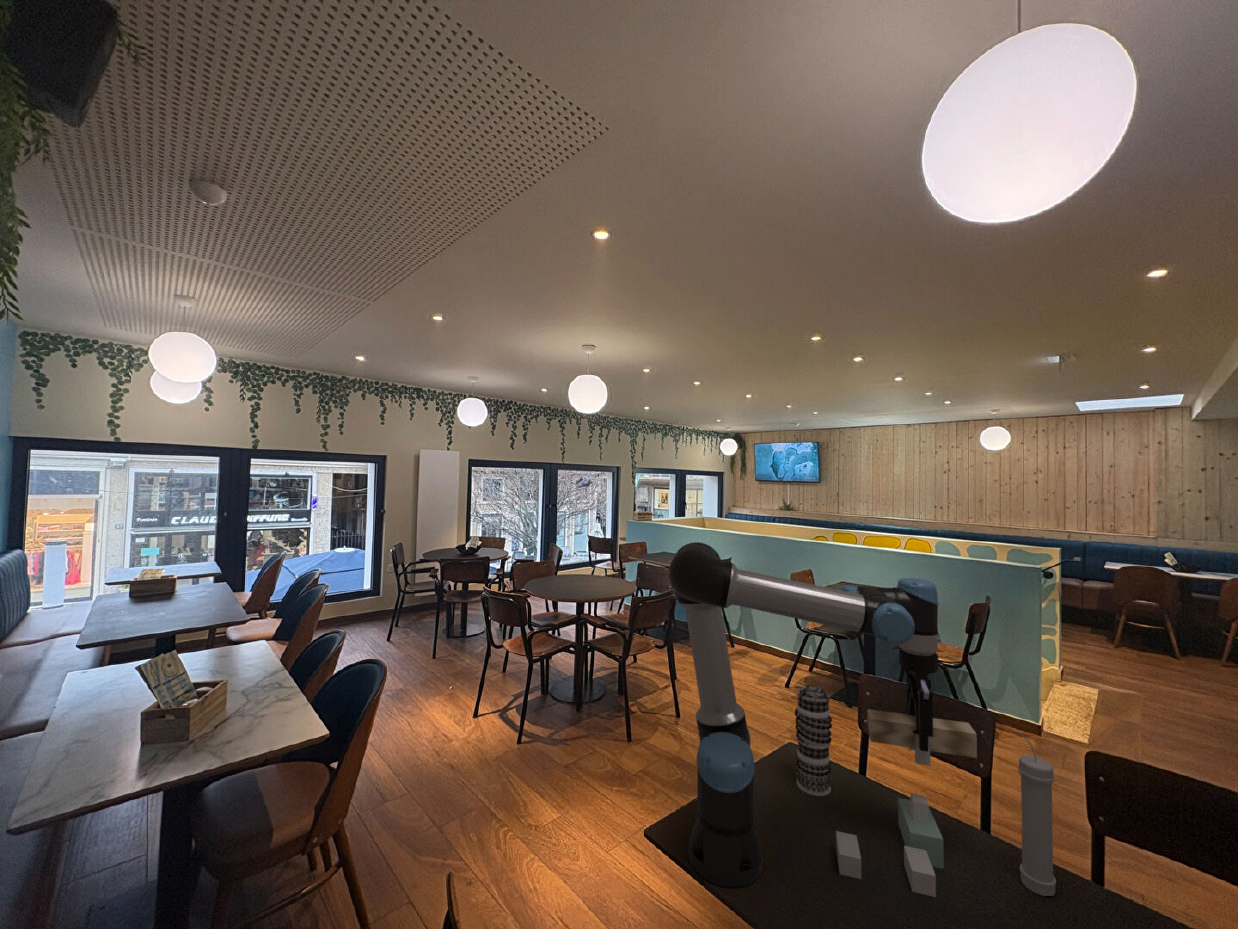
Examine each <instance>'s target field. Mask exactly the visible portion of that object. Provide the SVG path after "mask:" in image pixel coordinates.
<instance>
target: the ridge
mask: <svg viewBox="0 0 1238 929" xmlns="http://www.w3.org/2000/svg"><path fill="white" fill-rule="evenodd" d="M909 795H910V796H909V797H910V799H905V798H900V797H898V798H897V812H898V813H897V815H898V816H897V818H898V819H897V821H898V823H897V824H898V827H899V831H900V833H901V836H902V840H903V843H904V846H908V847H913V848H918V849H922V850H926V852H927V854H928V857H929V860H930V862H931V865H932V867H933V868H936V869H942V870H944V869H945V868H944V857H945V856H944V854H945V853H944V838H943V835H942V833H941V831H940V828H939V827H938V826H939V825H938V824H937V822H936V819H935V816H933V813H932V811H931V808H930V806H929V802H928V801H927V798H926V796H925V795H920V794H915V793H909Z"/></svg>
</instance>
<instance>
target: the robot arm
mask: <svg viewBox="0 0 1238 929" xmlns="http://www.w3.org/2000/svg"><path fill="white" fill-rule="evenodd" d="M668 577H669V578H668V580H669V582H670V584H671V587H672V588H673V590H674V591H675V592H676V598H677V604H679V605H680V606H681V607H683V608H684V609H685V615H686V622H687V627H688V635H689V640H690V641H689V642H690V646H691V648H690V649H691V652H692V659H693V665H694V672H695V678H696V684H697V685H696V686H697V691H698V697H699V702H700V707H699V708H698V709H697V711H696V713H695V718H696V719H695V720H696V724H697V732H698V739H699V744H698V747H697V754H696V766H697V778H696V779H697V785H696V786H697V794H696V795H697V800H696V801H697V804H696V805H697V807H696V808H697V811H696V812H697V815H696V820H695V822H694V824H693V828H692V830H691V834H690V836H689V837H690V838H689V842H688V858H689V861H690V864H691V865H692V868H693V869H694V870H695V872H696V873H697V874H698V875H700V876H701V877H702V878H703V879H705V880H706V881H708V882H710V883H712V884H714V885H717V886H720V887H726V888H742V887H746V886H748V885H750V884H753V883H754V882H755V881H757V879H758V878H759V877H760V875H761V873H762V872H763V871H762V870H763V851H762V848H761V845H760V842H759V838H758V835H757V832H756V828H755V824H754V815H755V814H754V810H755V809H754V806H755V805H754V803H755V802H754V796H755V795H754V794H755V793H754V781H755V779H754V774H755V766H756V765H755V758H754V753H753V751H752V748H751V735H750V731H749V728H748V723H747V717H746V713H745V709H744V708H743V706H741V705H740V704H738V703H737V696H736V691H735V690H736V689H735V685H734V678H733V673H732V667H731V660H730V655H729V653H730V652H729V649H728V648H729V647H728V640H727V637H726V629H725V628H726V627H725V623H724V617H723V611H722V608H724V609H727V608H729V607H731V606H738V607H741V608H747V609H750V610H755V611H760V612H765V613H769V614H773V615H778V616H784V617H787V618H792V619H795V620H797V619H798V620H801V621H807V622H812V623H816V624H820V625H824V626H825V625H826V626H829V627H834V628H839V629H843V630H847V631H848V630H849V631H853V632H857V633H861V634H864V635H865V634H866V635H869V636H874V637H876V638H877V639H878V640H880V641H882V642H883V643H886V644H889V645H892V646H893V645H894V646H895V645H896V646H897V645H898V646H899V649H898V664H899V666H900V668H901V667H902V668H903V669H904V672H905V703H906V704H905V710H906V712H907V715H915V717H916V730H913V734H915V748H909V747H908V749H909V750H910V751H914V762H915V764H916V765H922V766H928V767H929V766H931V751H930V737H933V718H934V709H933V708H934V706H933V705H934V704H933V700H934V694H935V693H934V690H932V689H931V688H932V682H931V679H929V677H928V676H929V674H934V673H937V672H938V671H939V654H937V652H938V651H939V648H938V647H939V645H938V642H941V640H942V639H941V637H940V636H938V634H939V633H938V632H939V631H938V624H939V622H938V616H939V615H938V614H939V612H938V611H939V610H938V606H939V602H938V601H939V600H938V592H937V590H938V589H937V586H936V584H935V583H934V582H932V581H931V580H927V579H923V578H916V577H907V578H905V577H904V578H899V579H898V581H897V585H896V587H883V586H882V587H879V586H863V585H845V586H843V587H842V589H837V588H831V587H826V586H823V585H816V584H812V583H807V582H801V581H797V580H793V579H788V578H783V577H779V576H772V575H768V574H762V573H758V572H754V571H753V572H752V571H750V570H743V569H739V568H738V567H737V566H736V564H734V563H732V562H728V561H724V560H722V559H721V557H720V555H719V553H718V551H717V550H716V549H714V548H713V547H712V546H711V545H709V544H707V543H704V542H699V541H695V542H689V543H686V544H685V545H682V546H680V548H679V549H678V550H677V551H676V553H675V555H674V557H673V558H672V560H671V562H670V565H669V567H668Z"/></svg>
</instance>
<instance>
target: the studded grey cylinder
mask: <svg viewBox="0 0 1238 929" xmlns="http://www.w3.org/2000/svg"><path fill="white" fill-rule="evenodd" d="M796 694H797V706H796V707H795V710H794V716H795V727H794V728H795V729H796V732H795V736H796V737H795V738H796V740H797V746H798V747H797V750H796V751H797V753H796V756H795V758H796V762H795V764H796V769H795V773H796V776H795V778H796V782H795V783H796V785H797V787H798V788H799V789H800V790H801V791H802V792H803V793H806V794H808V795H811V796H816V797H824V796H828V795H829V794H830V793H831V790H832V787H831V786H832V785H831V784H832V781H831V780H832V774H831V771H832V768H831V766H832V761H831V759H830V757H831V756H830V753H829V752H830V747H831V742H832V740H833V738H832V737H831V736H832V731H831V729H832V728H833V724H832V721H833V719H832V716H831V715H830V710H831V708H830V707H829V704H830V702H829V701H830V699H831V696H830V695H829V694H828V693H827V691H825V689H823V688H822V687H820V686H818V685H813V684H808V685H807V684H806V685H804V686H802V687H801V688H800V689H799V690H797V691H796Z"/></svg>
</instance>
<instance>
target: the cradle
mask: <svg viewBox="0 0 1238 929" xmlns="http://www.w3.org/2000/svg"><path fill="white" fill-rule="evenodd" d="M835 840H836V841H835V851H836V857H837V858H836V859H837V865H838V872H839V875H841V876H846V877H850V878H853V879H858V880H862V857H861V856H862V855H861V851H860V850H861V849H860V846H859V841H858V836H857V834H856V835H855V834H851V833H847V832H842V831H838V830H835ZM903 865H904V866H903V867H904V869H905V872H906V875H907V878H908V883H909V886H910V889H911V891H912V893H916V894H920V895H924V896H929V897H932V898H936V897H937V876H936V874H935V870H934V867H932V865H931V862H930V860H929V857H928V854H927V852H926V850H922V849H918V848H913V847H908V846H905V845H904V846H903Z"/></svg>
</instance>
